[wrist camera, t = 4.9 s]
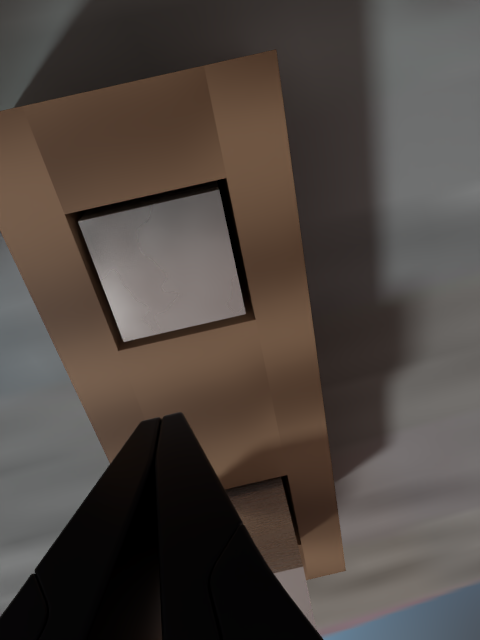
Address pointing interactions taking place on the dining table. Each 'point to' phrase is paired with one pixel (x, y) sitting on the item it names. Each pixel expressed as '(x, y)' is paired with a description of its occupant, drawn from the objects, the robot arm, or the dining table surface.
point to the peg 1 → (165, 260)
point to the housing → (196, 341)
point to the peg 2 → (274, 535)
